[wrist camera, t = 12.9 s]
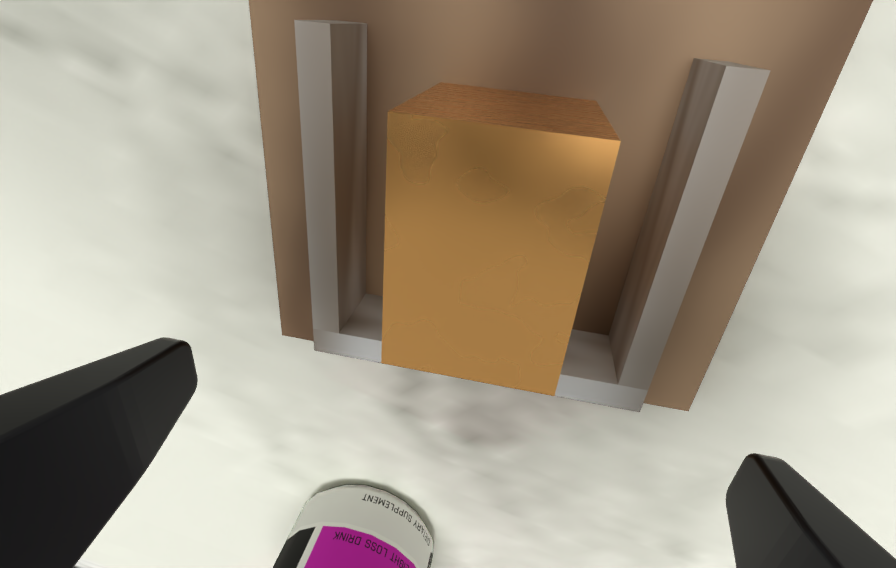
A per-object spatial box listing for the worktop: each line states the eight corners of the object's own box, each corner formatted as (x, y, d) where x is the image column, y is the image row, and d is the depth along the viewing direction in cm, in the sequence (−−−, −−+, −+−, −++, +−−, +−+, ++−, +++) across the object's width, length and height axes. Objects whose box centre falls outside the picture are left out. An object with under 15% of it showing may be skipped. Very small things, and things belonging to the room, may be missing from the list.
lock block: (426, 270, 19) (381, 362, 14) (440, 82, 16) (387, 111, 11) (552, 291, 19) (554, 395, 13) (596, 100, 15) (621, 140, 10)
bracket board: (292, 323, 23) (246, 376, 20) (230, -393, 12) (105, -558, 9) (682, 395, 21) (709, 469, 17) (1023, -394, 10) (1268, -609, 7)
